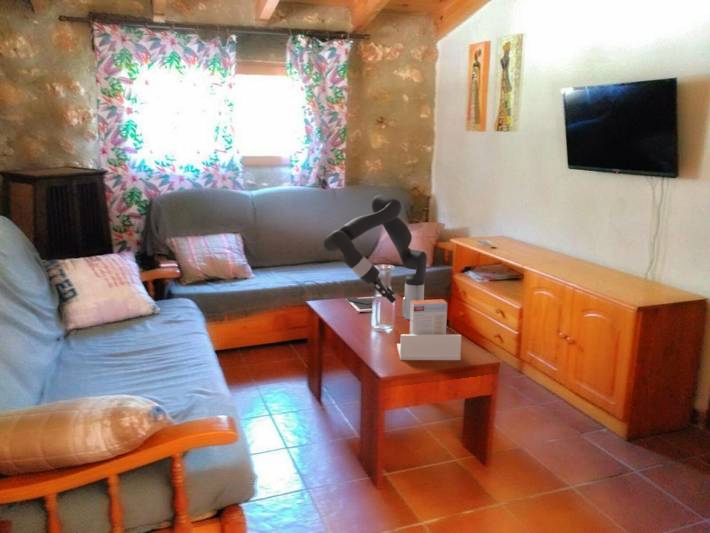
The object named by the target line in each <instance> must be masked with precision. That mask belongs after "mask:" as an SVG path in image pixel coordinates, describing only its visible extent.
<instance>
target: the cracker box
mask: <svg viewBox="0 0 710 533" xmlns="http://www.w3.org/2000/svg"><path fill="white" fill-rule="evenodd" d="M447 316H448V302H447V301H446V300H445V299H443V298H442V299H441V298H438V299H424V300H411V305H410V320H409V334H441V335H447V322H448V321H447V318H448V317H447Z"/></svg>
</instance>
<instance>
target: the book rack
mask: <svg viewBox="0 0 710 533" xmlns="http://www.w3.org/2000/svg"><path fill="white" fill-rule="evenodd" d="M396 348H397V352H398V356H399V360H400V361H461V351H462V350H461V348H462V335H461V334H446V335H441V334H410V333H408V334H407V333H405V334H404V333H403V334H400V343H396Z"/></svg>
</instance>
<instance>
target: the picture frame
mask: <svg viewBox="0 0 710 533" xmlns="http://www.w3.org/2000/svg"><path fill="white" fill-rule="evenodd" d="M374 297H375V296H368V297H367V296H364V297H355V296H351V297H349V296H348V297H345V301H346V300H347V301H348V302H349V303H350V304H351V305H352V306H353V307H354V308H355V309H356V311H358V312H361V311H371V310H372V301H373V300H372V299H373V298H374ZM366 299H371V300H366ZM356 311H355V312H356Z"/></svg>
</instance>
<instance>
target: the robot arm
mask: <svg viewBox="0 0 710 533" xmlns="http://www.w3.org/2000/svg"><path fill="white" fill-rule="evenodd" d="M371 209H372V213H369V214H365V215H361V216H357V217H356V218H353V219H352V220H350V221H348V222H346V224H344V225H343V226H342V227H340V228H339V229H337V230H334V231H332V232H331V233H329V234H328V235H327V236H326V237H325V238H324V240H323V247H324V249H325V250H326V251H328V252H330V253H336V252H338V251H339V250H340V252H341V254H342V256H341V260H342V261H343V262H344V264H345V265H346V266H347V267H348V268H349V269H350V270H352V272H353V273H354V274H355V275H356V276H357V277H358V278H359V280H360V281H361V282H363V283H364V284H365V285H370V284H372V285H373V288H374V289H375V290H376V291H377V292H378V293H379V294H380V295H381V296H382V297H383V298H386V299H387V300H388V301H389V302H390V303H391V304H393V303H394V302H395V301H396V297H394V294H395V293H394V291H393V290H392V289H390V287H389V286H388V284H387V282H386V281H385V280H383V279H382V278H381V277H380V276H379V275H380V270H379V269H378V268H377V267H376V266H375V265H374V264H373V263H372V262H371V261H370V260H369V259H368V258H366V257H365V256H364V255H363V254H362V253H361V252H360V251H359V250H357V248H356V246H355V244H354V243H353V241H354V240H355V239H358V238H359V237H360V236H361V235H363V234H365V233H367V232H368V231H370V230H372V229H375V228H377V227H378V226H381V225H382V226H383V227H384V229H385V231H386V233H387V234H388V237H389V239H390V241H391V242H392V244H393V245H394V247H395V248H396V249H395V250H396V251H397V253H398V256H399V258H400V261H401V263H402V265H403V267H404V268H405V269H409V270H414V271H415V273H414V274H411V275H407V276H405V279H404V297H403V298H402V305H401V306H402V308H401V309H402V311H401V312H402V313H401V317H403V319H406V320H409V321H410V305H411V300H425V299H424V298H425V281H426V280H425V279H426V274H427V265H428V264H427V261H428V257H427V253H426V252H425V251H424V250H423V251H422V250H415V249H410V244H411V243H412V239H413V238H412V237H413V236H412V232H411V230H410V229H409V227H408V225H407V224H406V222H404V221H403V220H402V219H401V218H399V214H400V213H401V210H402V204H401V202H400V200H398V199H396V198H394V197H392V196H389V195H387V194H378V195H376V196H374V198H372V202H371Z"/></svg>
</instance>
